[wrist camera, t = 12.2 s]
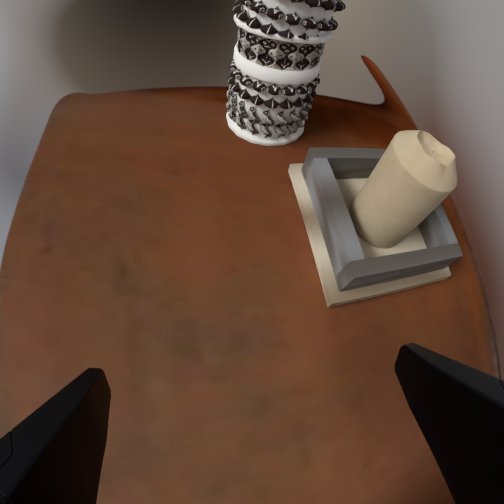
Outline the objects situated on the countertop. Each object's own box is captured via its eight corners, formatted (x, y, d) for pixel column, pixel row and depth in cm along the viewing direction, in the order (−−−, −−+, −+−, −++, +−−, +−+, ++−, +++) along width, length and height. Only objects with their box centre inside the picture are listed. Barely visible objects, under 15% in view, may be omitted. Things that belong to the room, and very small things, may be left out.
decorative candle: (302, 99, 33) (354, -90, 10) (313, 153, 29) (397, -87, 6) (225, 92, 32) (246, -109, 9) (220, 146, 28) (244, -122, 5)
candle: (406, 212, 26) (465, 143, 17) (397, 260, 24) (470, 194, 15) (356, 185, 26) (404, 105, 17) (341, 231, 24) (398, 148, 15)
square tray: (445, 279, 25) (471, 262, 21) (327, 307, 22) (347, 291, 19) (398, 169, 30) (414, 145, 26) (288, 170, 27) (297, 141, 24)
